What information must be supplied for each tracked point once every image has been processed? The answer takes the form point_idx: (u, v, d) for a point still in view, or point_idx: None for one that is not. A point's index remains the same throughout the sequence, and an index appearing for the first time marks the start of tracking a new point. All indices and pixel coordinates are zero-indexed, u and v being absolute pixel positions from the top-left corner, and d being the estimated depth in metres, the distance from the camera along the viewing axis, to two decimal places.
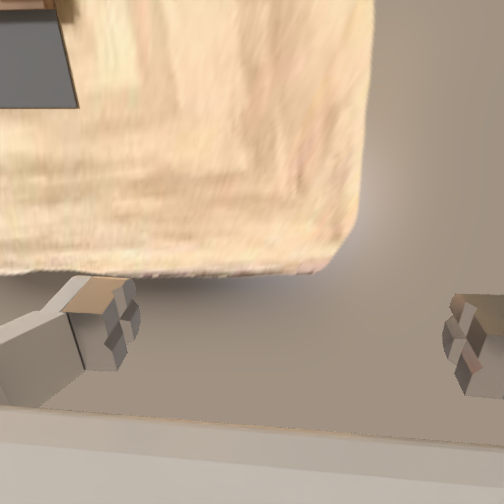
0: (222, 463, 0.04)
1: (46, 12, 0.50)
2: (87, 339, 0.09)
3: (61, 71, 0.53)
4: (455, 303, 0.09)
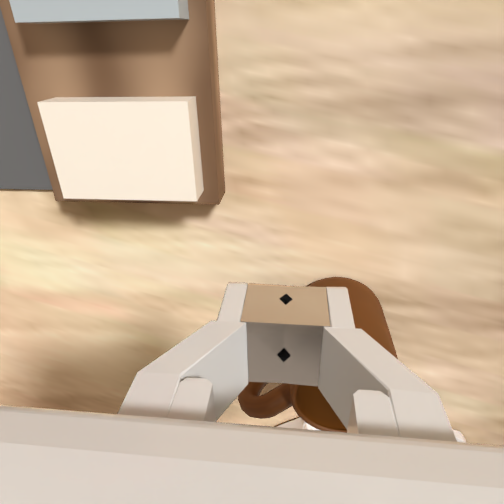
0: (222, 463, 0.04)
1: None
2: (260, 349, 0.08)
3: None
4: None
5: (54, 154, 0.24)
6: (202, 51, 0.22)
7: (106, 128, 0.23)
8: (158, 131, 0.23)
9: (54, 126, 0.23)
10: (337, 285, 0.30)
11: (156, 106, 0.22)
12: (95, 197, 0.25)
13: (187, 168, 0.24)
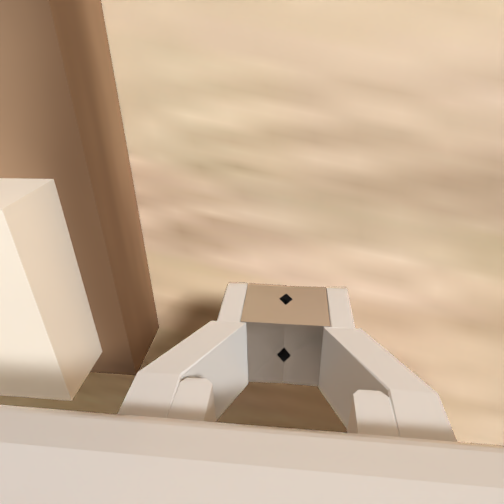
0: (222, 463, 0.04)
1: None
2: (260, 350, 0.08)
3: None
4: None
5: None
6: (50, 76, 0.09)
7: None
8: None
9: None
10: None
11: None
12: None
13: (36, 343, 0.10)
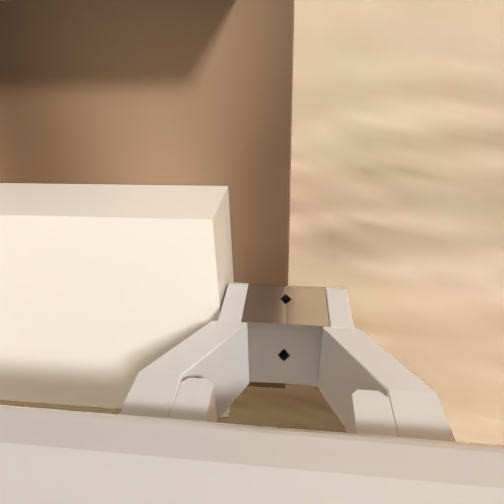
0: (222, 463, 0.04)
1: None
2: (261, 350, 0.08)
3: None
4: None
5: None
6: (273, 78, 0.08)
7: (3, 273, 0.09)
8: (134, 284, 0.09)
9: None
10: None
11: (127, 229, 0.08)
12: (0, 397, 0.11)
13: None
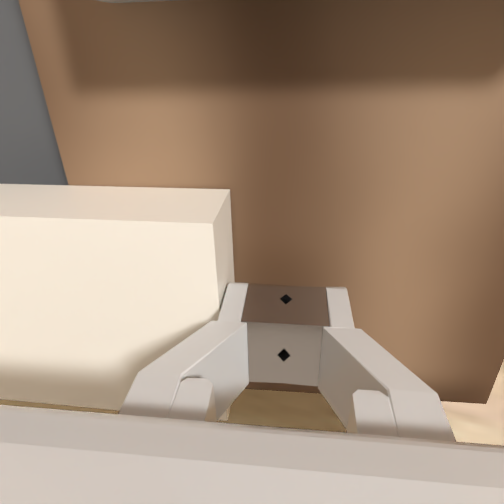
0: (222, 463, 0.04)
1: None
2: (261, 350, 0.08)
3: None
4: None
5: None
6: None
7: (5, 273, 0.09)
8: (134, 286, 0.09)
9: None
10: None
11: (127, 232, 0.08)
12: (1, 396, 0.11)
13: None
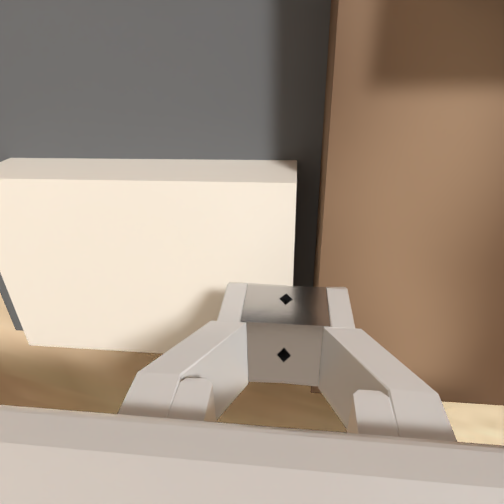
0: (222, 463, 0.04)
1: None
2: (260, 350, 0.08)
3: None
4: None
5: (6, 274, 0.12)
6: None
7: (112, 231, 0.11)
8: (223, 240, 0.10)
9: (3, 224, 0.11)
10: None
11: (224, 191, 0.10)
12: (89, 346, 0.13)
13: None
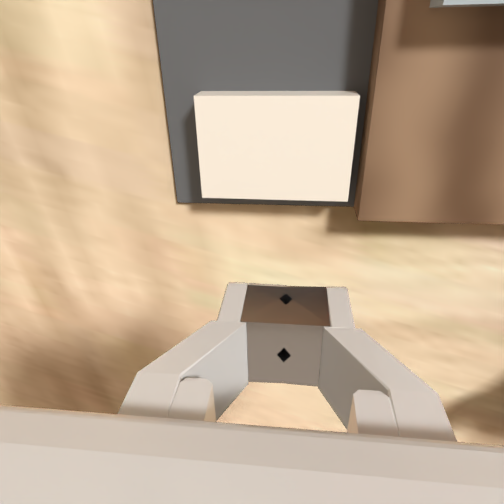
0: (222, 463, 0.04)
1: (350, 190, 0.25)
2: (260, 350, 0.08)
3: None
4: None
5: (201, 151, 0.23)
6: None
7: (264, 124, 0.22)
8: (320, 127, 0.21)
9: (207, 121, 0.22)
10: None
11: (324, 100, 0.21)
12: (237, 196, 0.24)
13: (344, 166, 0.22)
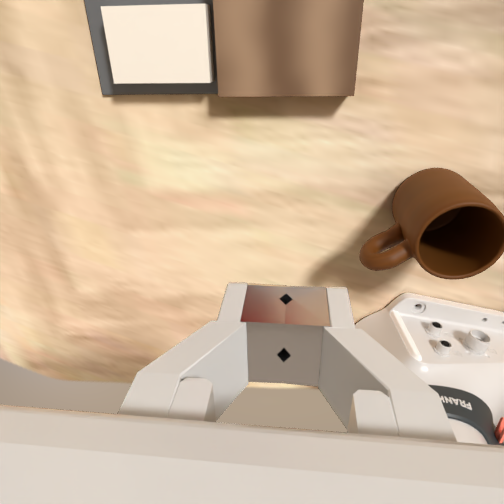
0: (222, 463, 0.04)
1: None
2: (260, 350, 0.08)
3: (147, 83, 0.37)
4: None
5: (109, 47, 0.34)
6: None
7: (148, 25, 0.33)
8: (184, 27, 0.33)
9: (111, 24, 0.33)
10: (438, 170, 0.37)
11: (183, 7, 0.32)
12: (137, 81, 0.35)
13: (203, 55, 0.33)
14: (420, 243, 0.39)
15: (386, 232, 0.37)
